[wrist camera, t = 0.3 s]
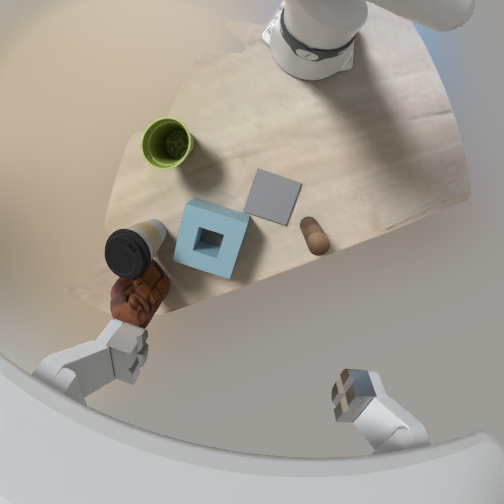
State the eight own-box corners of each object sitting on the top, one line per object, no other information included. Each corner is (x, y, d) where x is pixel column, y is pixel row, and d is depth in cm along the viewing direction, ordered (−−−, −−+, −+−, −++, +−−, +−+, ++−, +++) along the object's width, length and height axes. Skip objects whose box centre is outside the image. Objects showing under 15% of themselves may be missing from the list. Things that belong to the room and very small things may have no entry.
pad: (257, 168, 51) (257, 168, 51) (301, 183, 52) (301, 183, 51) (243, 210, 55) (243, 211, 54) (285, 224, 55) (285, 225, 55)
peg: (303, 214, 54) (313, 231, 43) (319, 220, 54) (333, 239, 43) (297, 230, 55) (305, 251, 44) (313, 235, 56) (324, 258, 44)
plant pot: (150, 138, 50) (131, 138, 42) (187, 112, 48) (173, 106, 40) (173, 174, 52) (157, 180, 44) (211, 149, 50) (200, 150, 42)
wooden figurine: (178, 291, 62) (151, 339, 46) (158, 301, 64) (129, 347, 47) (150, 250, 59) (112, 288, 42) (131, 262, 60) (92, 300, 44)
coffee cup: (179, 221, 56) (152, 246, 42) (166, 258, 59) (140, 291, 45) (142, 204, 55) (106, 223, 41) (131, 241, 58) (97, 268, 44)
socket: (194, 197, 54) (185, 203, 48) (249, 215, 55) (248, 223, 49) (181, 249, 58) (172, 260, 53) (233, 266, 59) (229, 279, 54)
